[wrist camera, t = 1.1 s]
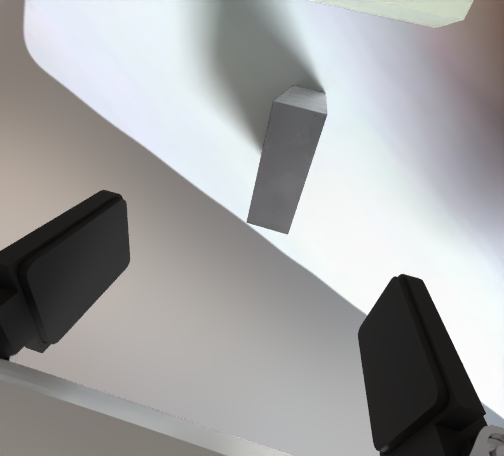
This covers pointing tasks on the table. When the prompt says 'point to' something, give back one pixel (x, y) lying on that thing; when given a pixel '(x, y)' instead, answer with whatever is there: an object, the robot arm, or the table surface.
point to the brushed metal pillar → (287, 157)
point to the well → (410, 10)
